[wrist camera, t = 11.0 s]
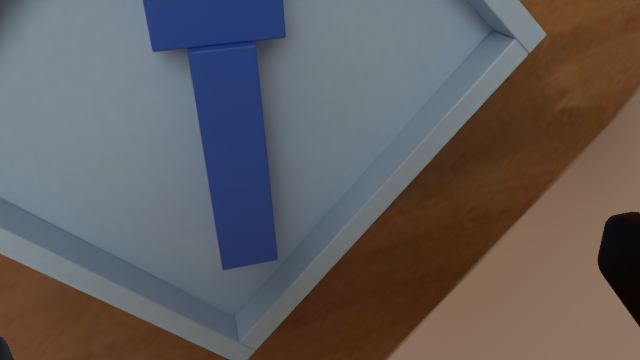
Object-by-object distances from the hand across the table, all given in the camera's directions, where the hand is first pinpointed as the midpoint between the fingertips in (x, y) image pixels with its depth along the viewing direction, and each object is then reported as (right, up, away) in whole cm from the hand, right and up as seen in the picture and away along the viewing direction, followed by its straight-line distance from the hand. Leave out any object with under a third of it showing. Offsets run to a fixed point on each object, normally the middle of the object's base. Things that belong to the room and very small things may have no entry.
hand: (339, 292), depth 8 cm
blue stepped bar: (-3, +5, +9) cm, 11 cm away
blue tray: (-4, +5, +10) cm, 11 cm away
